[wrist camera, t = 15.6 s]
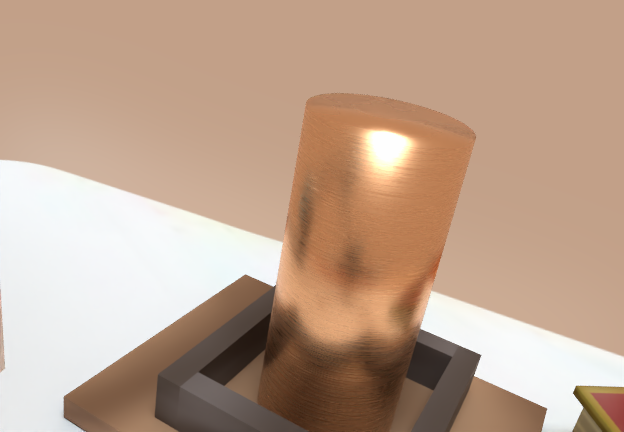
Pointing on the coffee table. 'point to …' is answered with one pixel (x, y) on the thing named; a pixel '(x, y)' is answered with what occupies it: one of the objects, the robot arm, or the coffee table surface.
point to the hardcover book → (600, 409)
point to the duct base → (247, 373)
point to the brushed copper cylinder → (359, 258)
